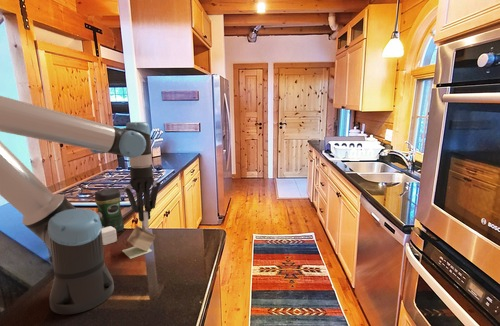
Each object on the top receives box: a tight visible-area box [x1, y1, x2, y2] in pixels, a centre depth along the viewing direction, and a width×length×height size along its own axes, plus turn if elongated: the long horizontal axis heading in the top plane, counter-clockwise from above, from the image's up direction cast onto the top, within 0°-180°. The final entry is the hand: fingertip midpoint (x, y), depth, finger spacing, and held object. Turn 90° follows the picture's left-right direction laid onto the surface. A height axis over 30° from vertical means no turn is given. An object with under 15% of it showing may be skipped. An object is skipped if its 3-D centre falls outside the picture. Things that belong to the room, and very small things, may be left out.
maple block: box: [126, 225, 157, 251], centre depth 102 cm, size 6×6×6 cm
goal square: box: [121, 246, 153, 260], centre depth 102 cm, size 8×8×1 cm
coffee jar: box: [94, 187, 125, 233], centre depth 117 cm, size 10×8×19 cm
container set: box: [101, 226, 118, 246], centre depth 103 cm, size 20×5×6 cm, turn 138°
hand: (145, 228), depth 103 cm, fingers closed
